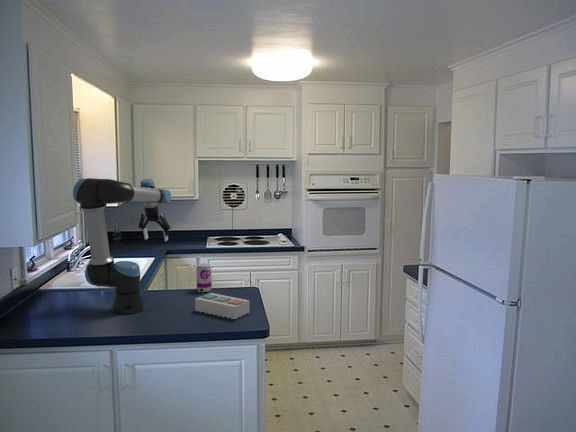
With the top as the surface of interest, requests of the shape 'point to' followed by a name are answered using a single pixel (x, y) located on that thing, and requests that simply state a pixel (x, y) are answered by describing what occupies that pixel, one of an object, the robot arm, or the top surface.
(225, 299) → the grey key
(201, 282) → the supplement can
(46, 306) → the top surface
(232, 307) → the keypad
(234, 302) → the terracotta key
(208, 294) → the teal key
